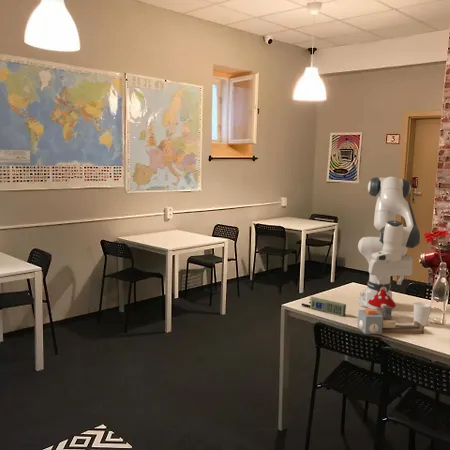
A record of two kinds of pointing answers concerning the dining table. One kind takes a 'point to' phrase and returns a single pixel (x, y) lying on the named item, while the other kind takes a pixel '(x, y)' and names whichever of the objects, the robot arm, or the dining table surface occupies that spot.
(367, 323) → the gauge cabinet
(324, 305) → the handheld radio
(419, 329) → the rail
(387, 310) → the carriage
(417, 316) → the white cup
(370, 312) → the button
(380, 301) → the decorative mushroom
